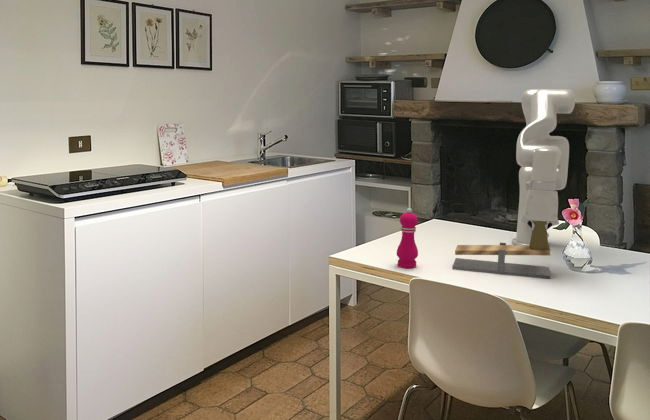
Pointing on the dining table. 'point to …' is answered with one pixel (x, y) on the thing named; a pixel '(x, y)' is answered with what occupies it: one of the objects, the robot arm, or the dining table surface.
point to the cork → (539, 236)
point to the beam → (495, 250)
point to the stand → (502, 267)
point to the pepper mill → (407, 240)
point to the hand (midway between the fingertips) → (538, 241)
